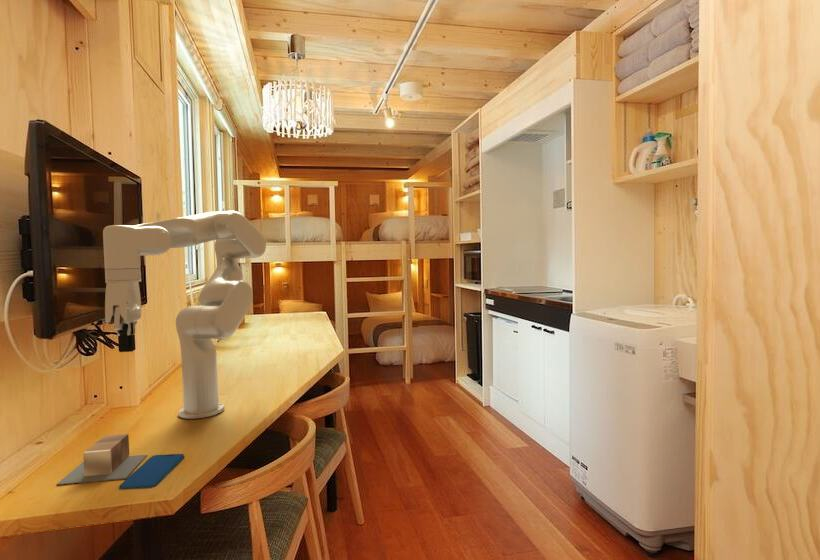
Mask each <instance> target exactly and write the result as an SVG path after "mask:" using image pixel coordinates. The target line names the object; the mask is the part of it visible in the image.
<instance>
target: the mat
mask: <svg viewBox="0 0 820 560" xmlns="http://www.w3.org/2000/svg"><path fill="white" fill-rule="evenodd" d="M146 457H148V454H139V455H137V454H136V455H129V456H128V457H127V458H126V459H125V460H124V461H123V462H122V463H121V464H120V465H119V466H118V467H117V468H116V469H115V470H114V471H113V472H112V473H111V474H105V475H94V476H84V460H82V462H80V464H78V466H76V467H75V468H74V469H73V470H71V471H70V472H69V473H68V474H66V475H65V476H64V477H63V478H62V479H61V480H59V481H58V482H57V483H56V485H57V486H65V485H64V484H68V485H75V484H74V483H79V484H88V483H87V482H90V483H98V482H99V483H100V482H109V481H121V480H126V479H127V478H128V477H129V476H131V475H132V474H133V473H134V472H135V471H136V470H137V469H138V468H139V467H138V466H140V464H141V463H142V462H143V461H144V460H145V459H146Z"/></svg>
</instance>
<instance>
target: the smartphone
mask: <svg viewBox="0 0 820 560" xmlns="http://www.w3.org/2000/svg"><path fill="white" fill-rule="evenodd" d="M184 459H185V455H184V454H183V453H174V454H173V453H171V454H170V453H169V454H155V455H152V456H150V457H149V458H148V459H147V460H146V461H145V462H143V463H142V464H141V465H139V467H137V468H136V469H135V470H134V471H133V472H132V473H131V474H130V475H129V476H128V478H127V479H124V481H123V482H122V483H120V484H119V486H118V487H119V489H120V490H131V489H133V490H134V489H150V488H151V489H152V488H154V487H157V486H158V485H159V484H160V483H161V482H162V481H163V480H164V479H165V478H166V477H167V476H168V475H169V474H170V473H171V472H172V471H173V470H174V469H175V468H176V467H177V466H178V465H179V464H180V463H181V462H182V461H183V460H184Z"/></svg>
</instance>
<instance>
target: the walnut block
mask: <svg viewBox="0 0 820 560" xmlns="http://www.w3.org/2000/svg"><path fill="white" fill-rule="evenodd" d="M129 436H130V435H129V433H123V434H121V433H120V434H110V435H109V434H108V435H107V434H106V435H103V436H102V437H100V439H98V440H97V442H94V444H92V445H91V446H90V447H89V448H87V449H86V450H85V451H83V453H82V455H83V461H84V476H94V475H105V474H111V473H112V472H113V471H114V470H115V469H116V468H117V467H118V466H119V465H120V464H121V463H122V462H123V461H124V460H125V459H126V458H127V457H128V456H130V439H129V438H130V437H129Z"/></svg>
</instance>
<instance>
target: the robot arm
mask: <svg viewBox="0 0 820 560" xmlns="http://www.w3.org/2000/svg"><path fill="white" fill-rule="evenodd" d="M102 240H103V242H102V243H103V257H104V258H103V259H104V279H105V281H104V282H105V285H106V287H105V297H104V298H105V300H104V315H105V316H104V319H105V323H106V324H107V325H113V330H114V331H116V334H117V335H116V336H117V337H118V338H117V341H118V345H117V346H118V352H119V353H130V352H131V353H133V351H135V350H136V335H135V334H136V325H137V324H138V321H139V320H140V319H141V318H142V301H141V299H142V297H141V291H140V282H141V283H142V271H141V269H142V268H141V267H142V266H141V257H142V256H147V257H148V256H159V255H163V254H165V253H167V252H168V251H169V250H170V249H178V248H179V249H180V248H189V247H194V246H197V245H200V244H204V243H209V242H212V241H214V252H215V258H216V268H215V270H214V272H213V273H212V274H211V276H210V278H209V279H208V281H207V282H206V283H205V285H204V286H203V287H202V289H201V290H200V294H199V295H198V302H199V304H200V305H190V306H186V307H184V308H182V309H181V310H180V311H179V312H178V313H177V316H176V318H175V329H176V332H177V335H178V336H177V337H178V340H179V344H180V346H179V347H180V354H181V355H180V358H181V378H182V379H181V381H182V400H183V402H182V403H183V405H182V406H183V407H181V408H180V409H178V411H177V416H178V417H179V418H182V419H187V420H188V419H189V420H194V419H203V418H208V417H213V416H216V415H218V413H219V414H221V413H222V412H223V411H225V405H224V403H222V402H219V382H218V379H219V378H218V358H217V354H218V353H217V350H216V349H217V348H216V346H215V344H214V342H213V340H214V339H215V340H223V339H225V340H226V339H229V338H230V337H232V336H233V335H234V334H235V332H236V331H237V330H238V328H239V326H240V325H241V323H242V321H243V320H244V318H245V317H246V315H247V313H248V311H249V310H250V308H251V306H252V302H253V296H254V295H253V288H252V287H251V285H250V284H249V283H248V282H246V281H244V280H243V278H244V277H243V271H242V269H241V266H240V265H239V263H238V259H256V258H260V257H262V256H263V255H264V254H265V252H266V249H267V243H266V239H265V237H264V235H263V234H262V232H261V231H259V230H258V229H257V227H255V226H254V224H252V222H251V221H250V220H248V219H247V218H246V217H245V216H244V215H243V214H242V213H240V212H238V211H235V210H223V211H222V210H221V211H207V212H202V213H196V214H192V215H188V216H181V217H180V216H179V217H176V218H175V217H174V218H169V219H165V220H159V221H153V222H146V223H140V224H135V225H127V224H112V225H107V226H105V227H104V228H103V231H102Z"/></svg>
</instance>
